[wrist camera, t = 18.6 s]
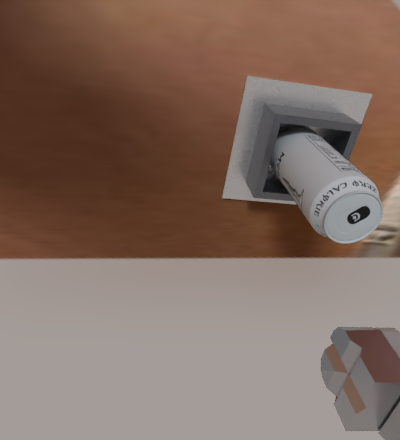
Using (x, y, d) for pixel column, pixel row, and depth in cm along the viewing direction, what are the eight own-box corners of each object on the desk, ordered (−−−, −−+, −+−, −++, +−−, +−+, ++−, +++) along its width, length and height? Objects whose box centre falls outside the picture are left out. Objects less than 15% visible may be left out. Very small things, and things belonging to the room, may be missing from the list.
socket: (245, 74, 39) (257, 84, 34) (367, 92, 41) (392, 103, 37) (220, 194, 46) (227, 215, 41) (326, 203, 48) (343, 224, 44)
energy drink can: (257, 143, 42) (304, 212, 29) (305, 113, 40) (377, 170, 28) (280, 183, 45) (333, 261, 32) (326, 155, 43) (399, 225, 31)
